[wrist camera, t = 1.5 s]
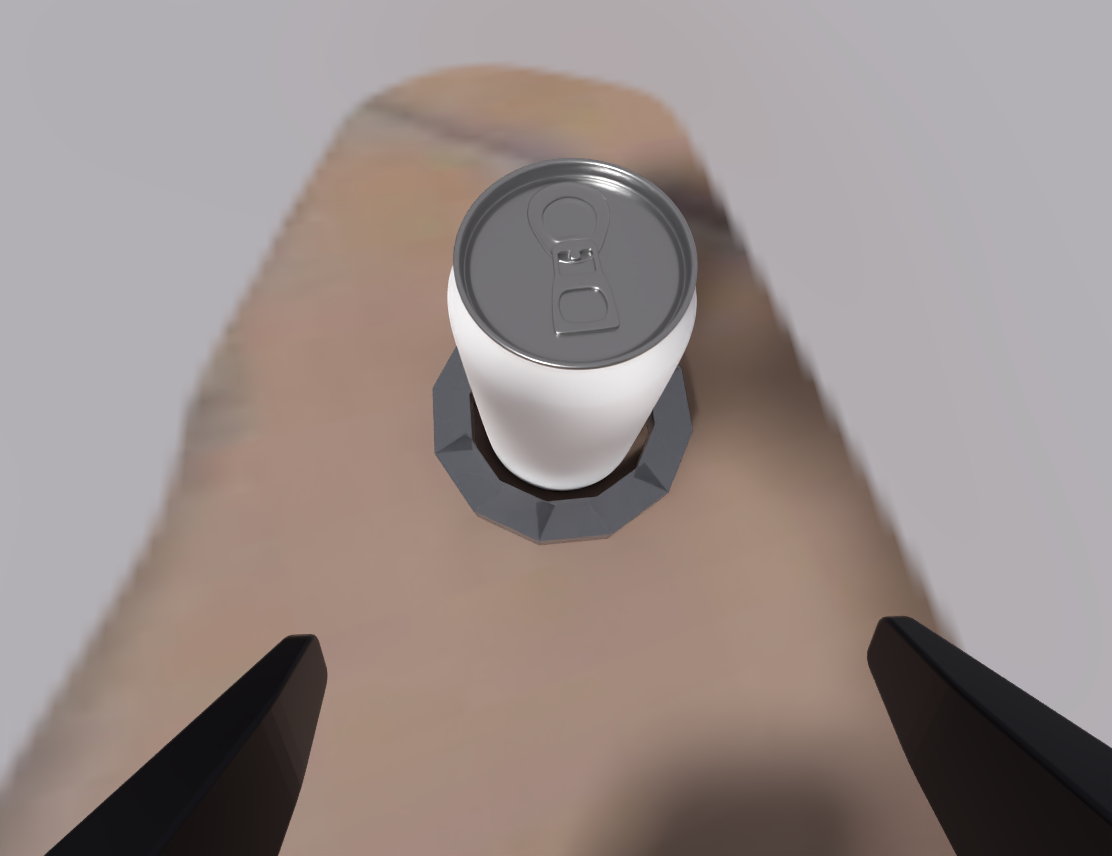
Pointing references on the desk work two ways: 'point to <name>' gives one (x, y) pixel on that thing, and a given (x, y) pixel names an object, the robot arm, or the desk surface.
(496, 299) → the can
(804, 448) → the desk surface
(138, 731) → the desk surface
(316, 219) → the desk surface
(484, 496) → the collar
